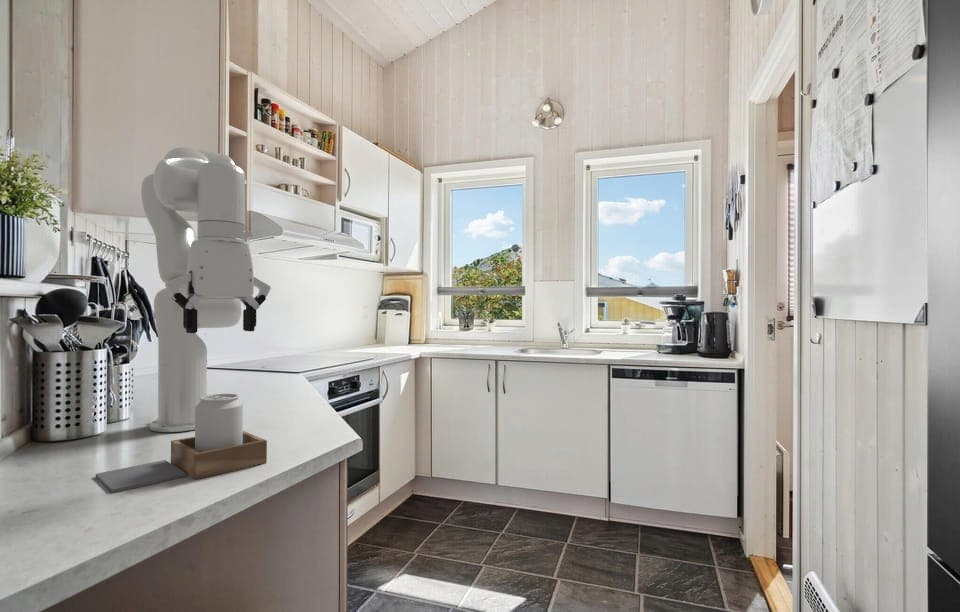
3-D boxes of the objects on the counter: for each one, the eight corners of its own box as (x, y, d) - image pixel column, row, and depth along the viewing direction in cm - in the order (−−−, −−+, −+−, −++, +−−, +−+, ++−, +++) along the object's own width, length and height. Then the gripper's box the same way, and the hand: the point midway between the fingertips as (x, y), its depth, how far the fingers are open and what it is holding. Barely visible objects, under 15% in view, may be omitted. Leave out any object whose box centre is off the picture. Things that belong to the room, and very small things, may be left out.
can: (222, 472, 85) (223, 400, 85) (184, 468, 87) (184, 398, 87) (251, 458, 92) (252, 392, 92) (215, 455, 94) (216, 390, 94)
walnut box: (170, 463, 89) (170, 440, 89) (238, 449, 98) (238, 428, 98) (195, 479, 81) (196, 454, 81) (266, 462, 90) (266, 440, 90)
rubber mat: (95, 476, 82) (95, 473, 82) (165, 462, 89) (165, 459, 89) (112, 493, 75) (112, 489, 75) (186, 476, 83) (186, 473, 83)
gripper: (260, 241, 99) (259, 330, 98) (158, 231, 86) (158, 333, 85) (279, 238, 94) (278, 331, 93) (174, 226, 81) (174, 334, 80)
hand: (221, 331), depth 89 cm, fingers open, 9 cm apart
